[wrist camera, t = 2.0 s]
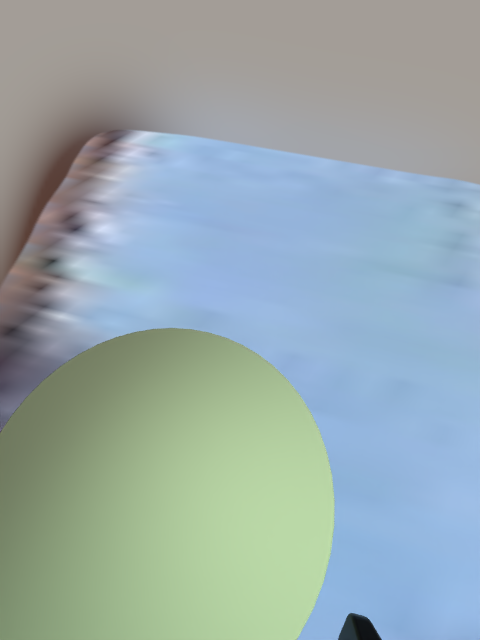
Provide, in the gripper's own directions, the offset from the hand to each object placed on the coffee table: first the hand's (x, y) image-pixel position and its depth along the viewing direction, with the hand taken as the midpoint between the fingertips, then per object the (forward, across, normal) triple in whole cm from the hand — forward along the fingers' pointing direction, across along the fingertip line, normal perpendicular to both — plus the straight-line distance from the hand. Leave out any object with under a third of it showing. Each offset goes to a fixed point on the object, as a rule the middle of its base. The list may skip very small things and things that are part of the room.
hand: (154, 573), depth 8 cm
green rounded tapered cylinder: (+8, 0, +6) cm, 9 cm away
